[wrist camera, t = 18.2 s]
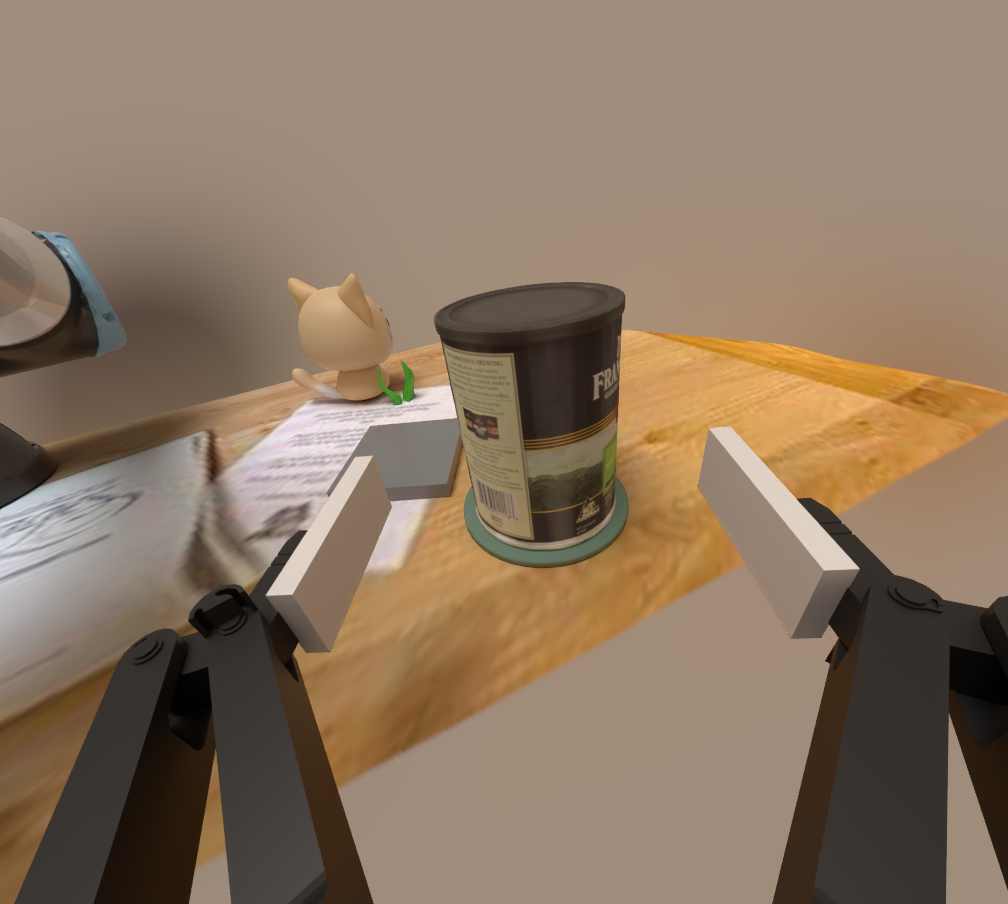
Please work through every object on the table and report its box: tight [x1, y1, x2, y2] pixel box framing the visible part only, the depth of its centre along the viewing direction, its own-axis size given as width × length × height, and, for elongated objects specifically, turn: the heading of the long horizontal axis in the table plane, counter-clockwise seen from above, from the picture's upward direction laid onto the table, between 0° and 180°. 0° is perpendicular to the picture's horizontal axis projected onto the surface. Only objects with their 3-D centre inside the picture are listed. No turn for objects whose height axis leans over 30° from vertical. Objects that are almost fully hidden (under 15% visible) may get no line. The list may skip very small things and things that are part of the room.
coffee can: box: [434, 282, 625, 550], centre depth 25 cm, size 10×10×14 cm
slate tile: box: [327, 418, 463, 501], centre depth 36 cm, size 2×10×11 cm
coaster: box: [464, 477, 628, 568], centre depth 29 cm, size 12×12×1 cm
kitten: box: [288, 273, 415, 405], centre depth 48 cm, size 15×10×15 cm
